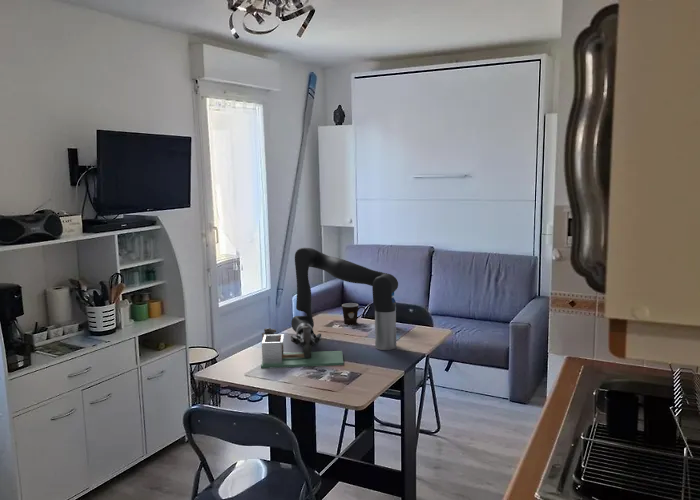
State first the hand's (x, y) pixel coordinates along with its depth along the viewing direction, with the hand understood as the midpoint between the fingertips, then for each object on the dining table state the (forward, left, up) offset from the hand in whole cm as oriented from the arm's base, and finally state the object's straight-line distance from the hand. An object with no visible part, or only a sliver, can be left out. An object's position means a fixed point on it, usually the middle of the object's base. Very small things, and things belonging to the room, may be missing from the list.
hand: (307, 343), depth 243 cm
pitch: (+2, -3, -8) cm, 9 cm away
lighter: (+17, -19, -8) cm, 27 cm away
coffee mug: (-23, -59, -8) cm, 64 cm away
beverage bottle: (-40, -49, -8) cm, 63 cm away
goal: (+15, -3, -7) cm, 16 cm away
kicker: (+6, -3, -7) cm, 9 cm away
